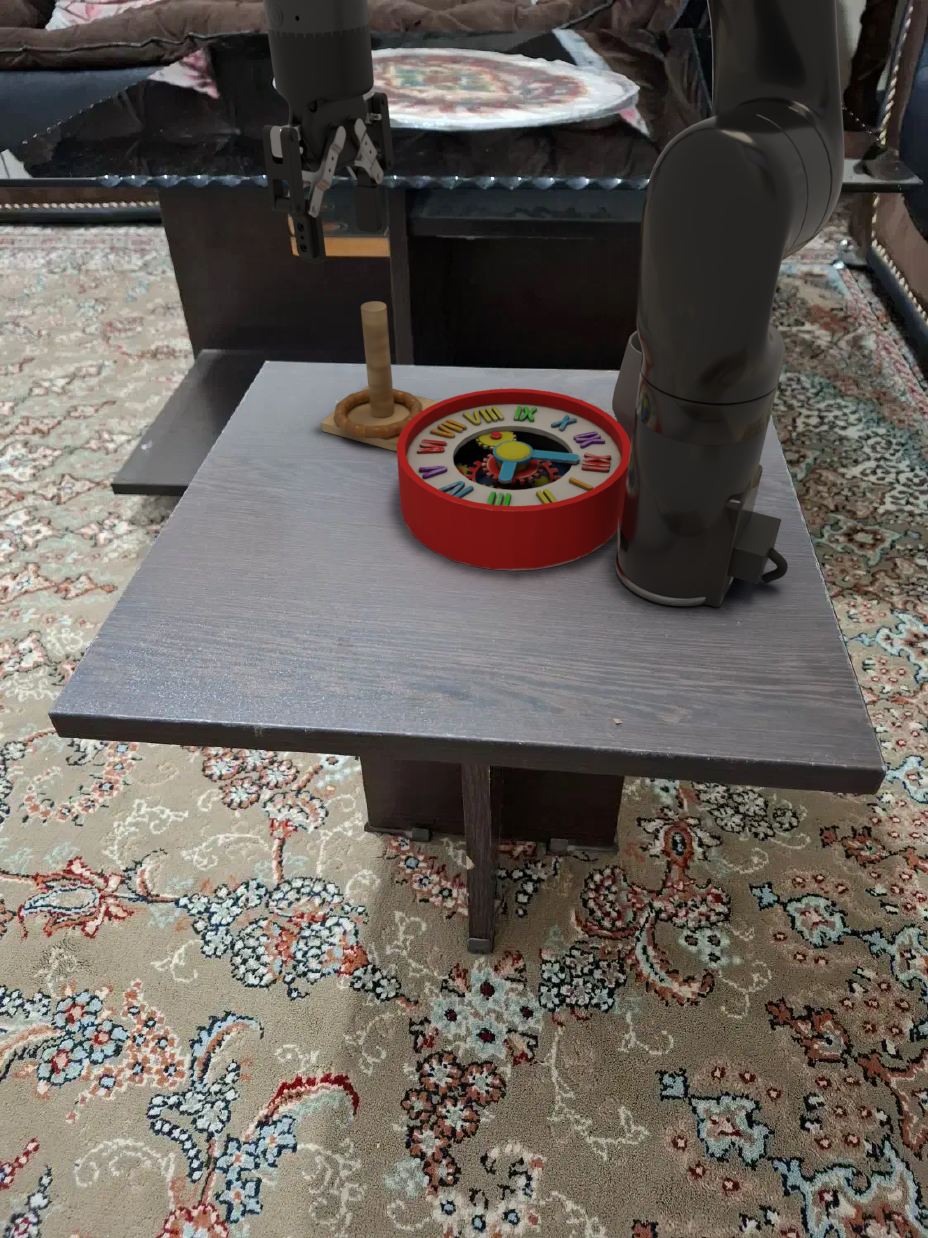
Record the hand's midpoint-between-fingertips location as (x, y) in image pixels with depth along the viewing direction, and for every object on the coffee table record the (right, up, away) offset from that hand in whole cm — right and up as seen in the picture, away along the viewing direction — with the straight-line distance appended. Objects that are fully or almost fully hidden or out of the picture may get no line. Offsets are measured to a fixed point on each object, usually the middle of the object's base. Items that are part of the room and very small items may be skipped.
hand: (342, 245), depth 76 cm
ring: (+2, -11, +13) cm, 17 cm away
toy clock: (+15, -21, +4) cm, 26 cm away
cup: (+29, -14, +12) cm, 35 cm away
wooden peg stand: (+2, -12, +15) cm, 19 cm away
